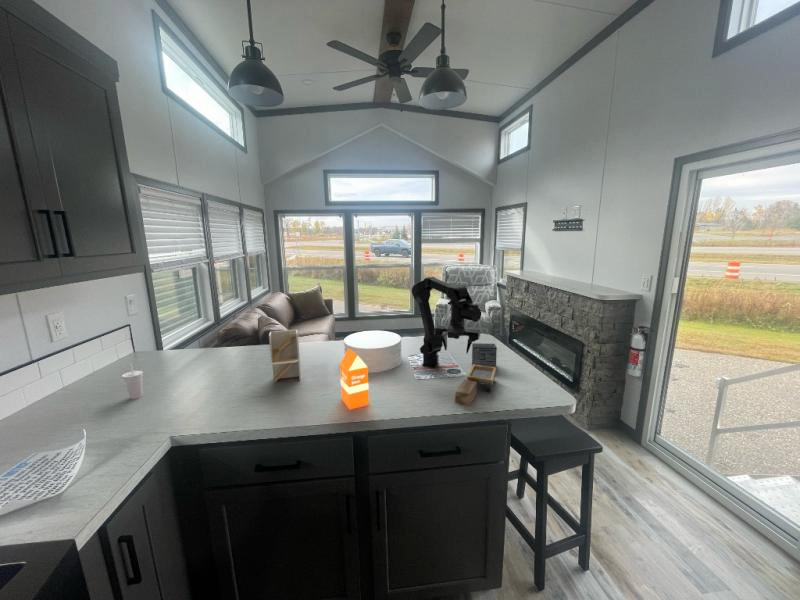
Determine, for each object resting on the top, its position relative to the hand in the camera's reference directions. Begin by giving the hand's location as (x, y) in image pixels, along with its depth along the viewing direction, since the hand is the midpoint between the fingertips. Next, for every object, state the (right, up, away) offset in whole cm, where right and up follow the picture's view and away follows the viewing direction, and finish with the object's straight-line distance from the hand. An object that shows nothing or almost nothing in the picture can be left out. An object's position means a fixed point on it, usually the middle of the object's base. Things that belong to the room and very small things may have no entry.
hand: (456, 351), depth 140 cm
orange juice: (-41, -16, -18) cm, 48 cm away
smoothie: (-127, -16, -12) cm, 129 cm away
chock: (+1, -15, -16) cm, 22 cm away
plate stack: (-37, -8, +22) cm, 44 cm away
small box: (+15, -9, +14) cm, 22 cm away
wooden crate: (-73, -13, +1) cm, 74 cm away
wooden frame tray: (+10, -13, -5) cm, 17 cm away
